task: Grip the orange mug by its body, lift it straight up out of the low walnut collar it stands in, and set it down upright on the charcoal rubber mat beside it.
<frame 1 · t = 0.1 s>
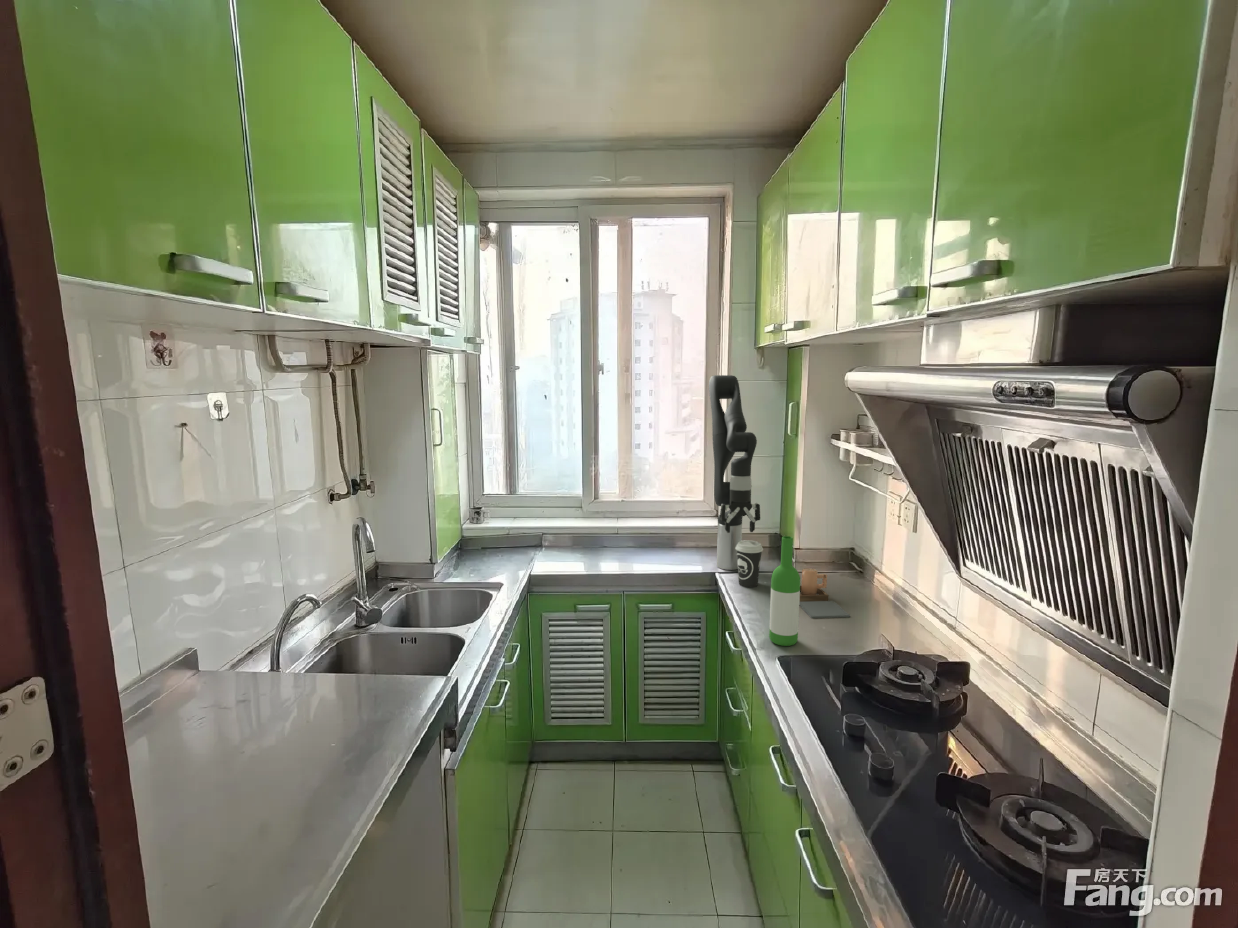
hand: (739, 532, 219), 17 cm above the counter, tool pointing down, fingers open, 8 cm apart
wine bottle: (783, 641, 170), on the counter
coffee cup: (748, 584, 216), on the counter
mat: (822, 610, 192), on the counter
orange mug: (813, 583, 203), in the holder
holder: (808, 596, 204), on the counter
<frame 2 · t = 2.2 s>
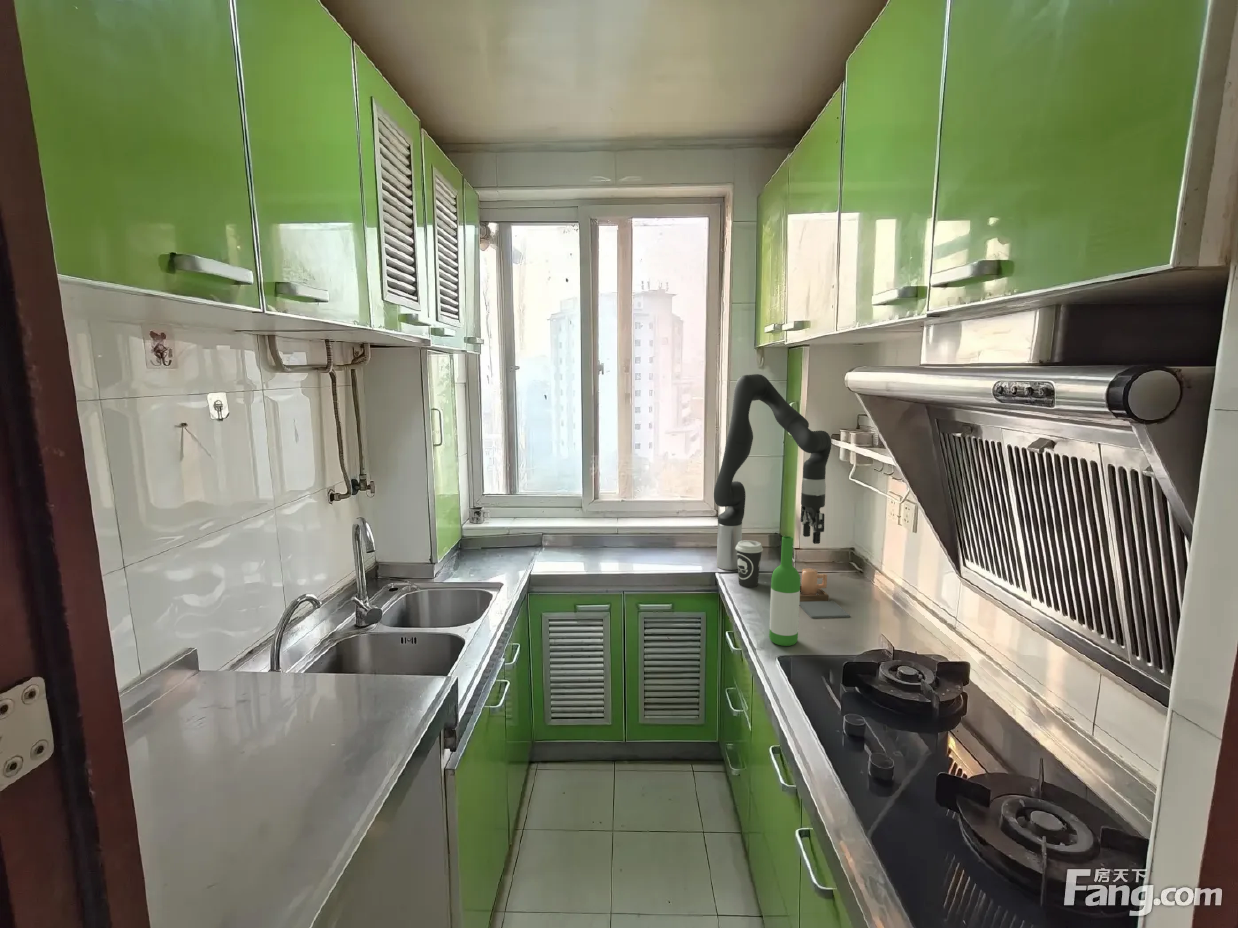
hand: (811, 539, 201), 20 cm above the counter, tool pointing down, fingers open, 8 cm apart
nothing on the counter moved.
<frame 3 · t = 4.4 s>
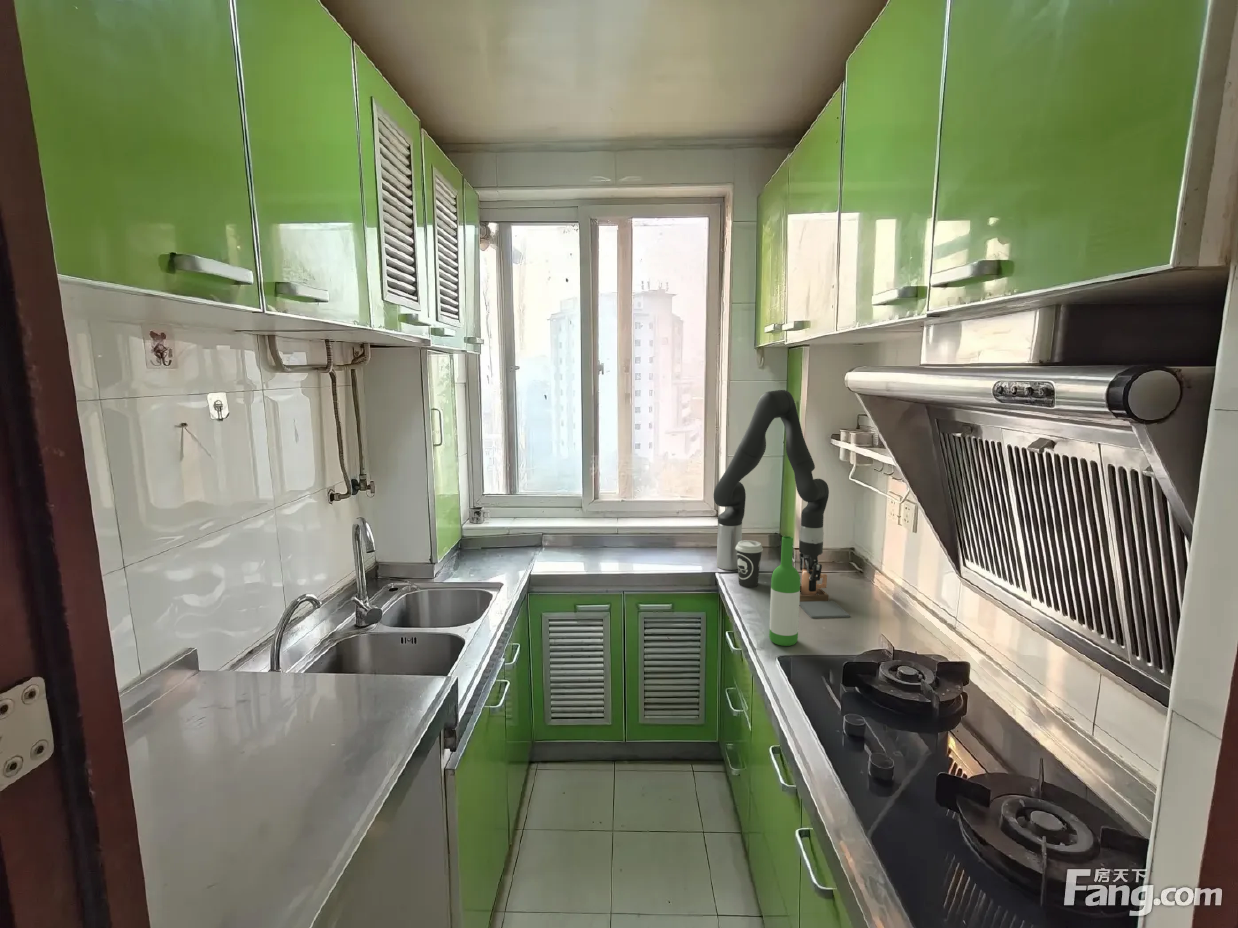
hand: (809, 587, 203), 3 cm above the counter, tool pointing down, fingers closed on orange mug, 5 cm apart
orange mug: (813, 583, 203), in the holder, touching gripper
everything else where it was.
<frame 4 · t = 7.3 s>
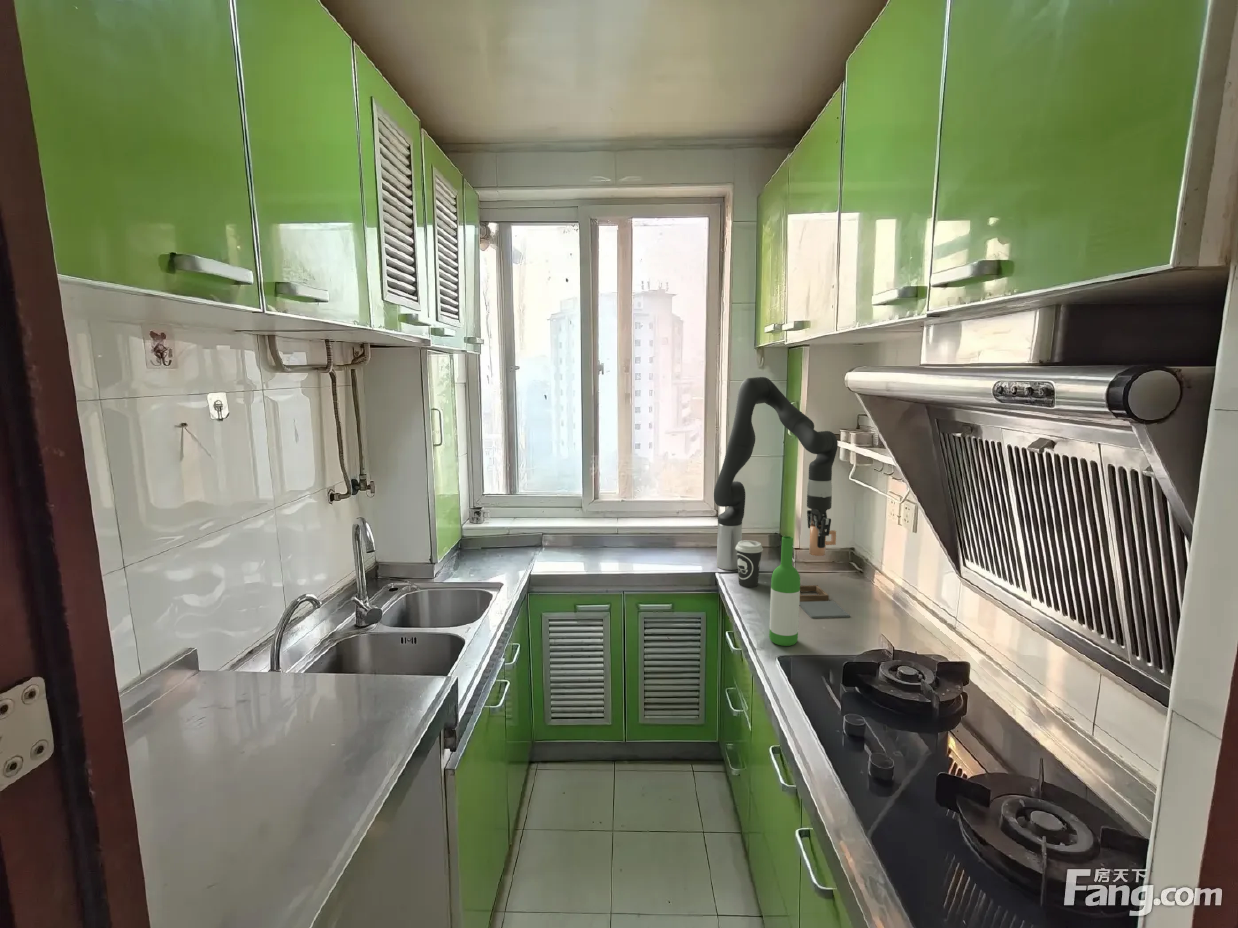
hand: (817, 544, 196), 19 cm above the counter, tool pointing down, fingers closed on orange mug, 5 cm apart
orange mug: (822, 540, 196), point 21 cm above the counter, touching gripper
everything else where it was.
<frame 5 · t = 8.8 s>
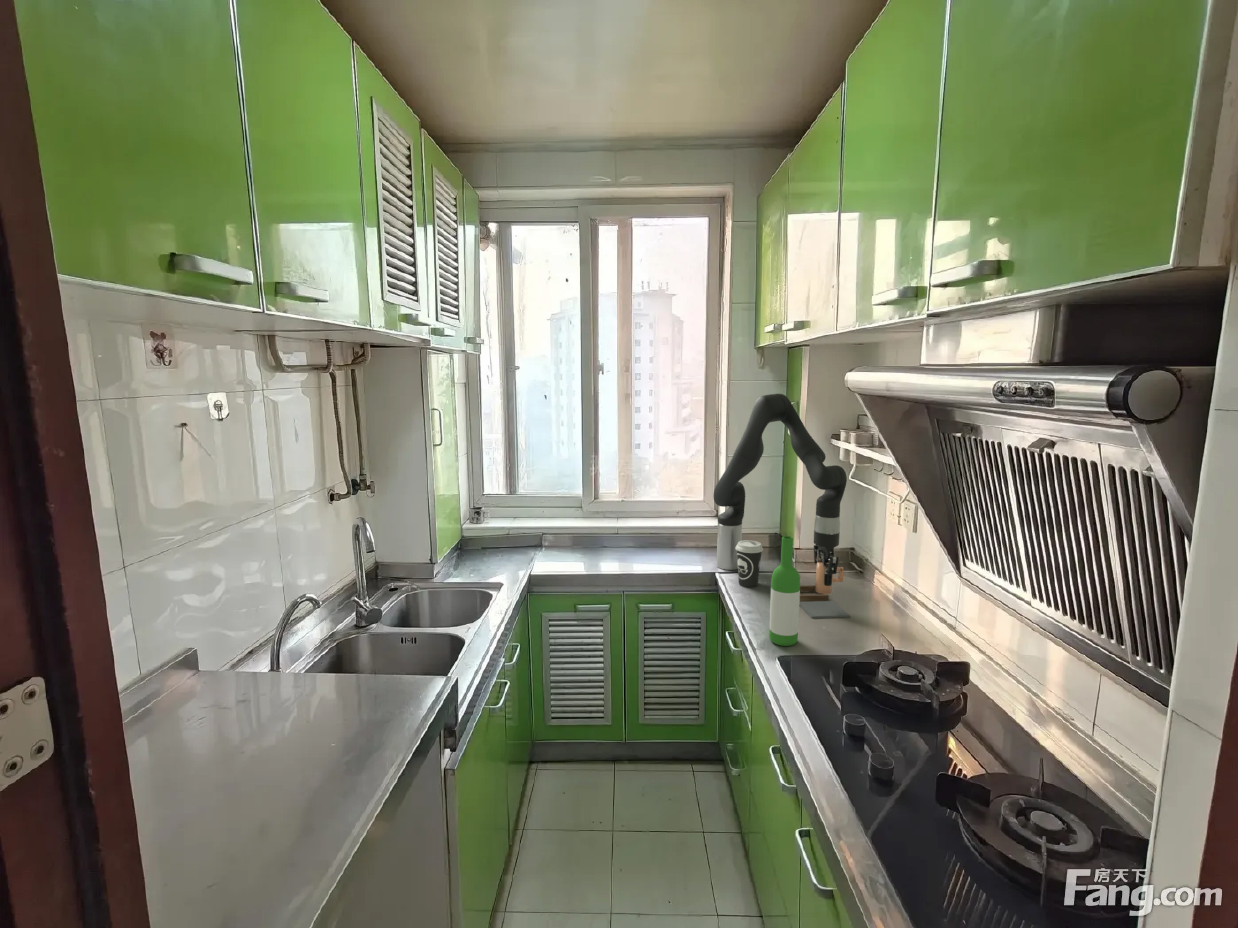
hand: (824, 582, 191), 9 cm above the counter, tool pointing down, fingers closed on orange mug, 5 cm apart
orange mug: (829, 577, 191), point 11 cm above the counter, touching gripper
everything else where it was.
when the fingers open (5 cm above the counter, at t = 10.1 s): orange mug drops 1 cm, resting on mat.
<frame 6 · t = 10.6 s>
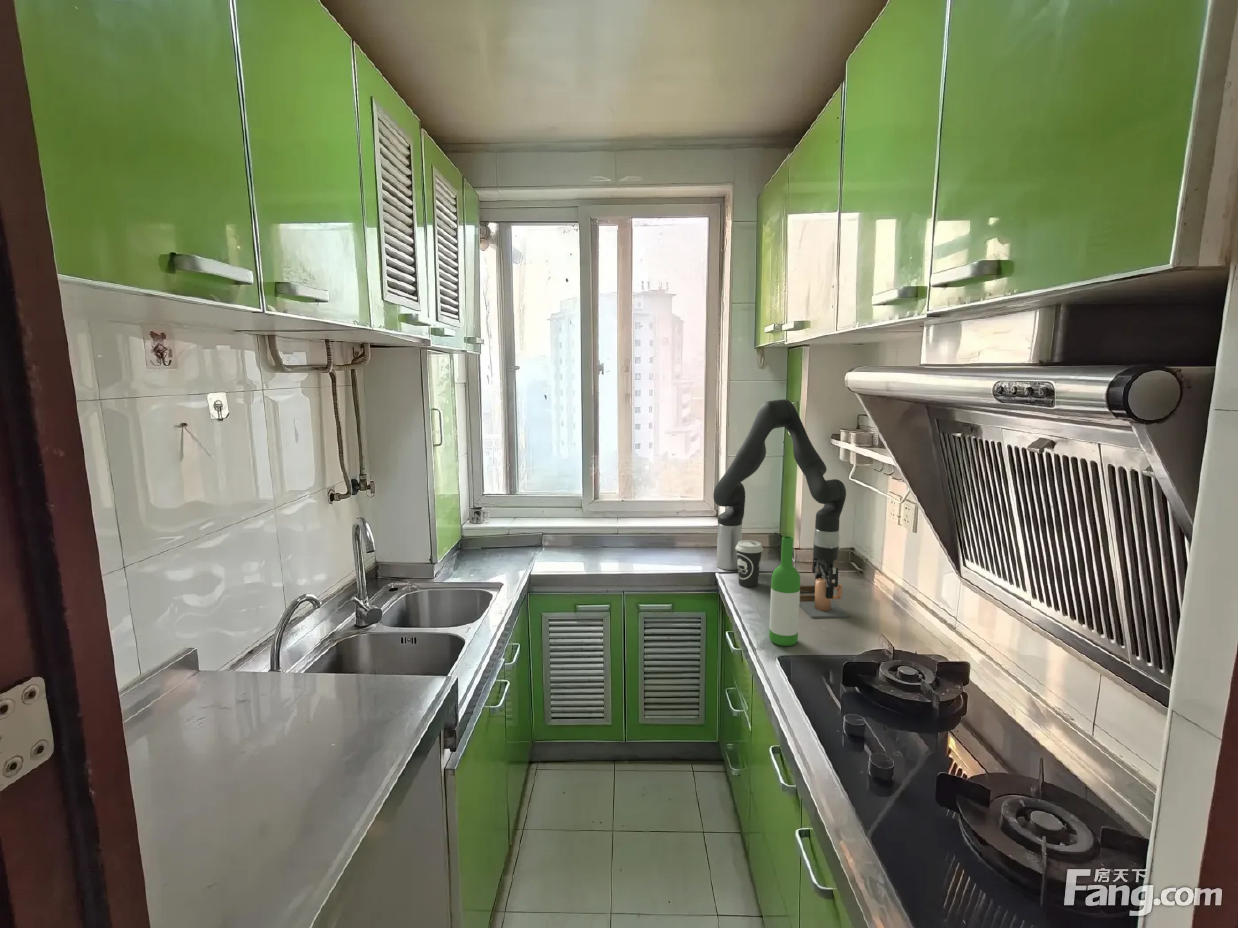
hand: (823, 593, 191), 6 cm above the counter, tool pointing down, fingers open, 8 cm apart
orange mug: (828, 594, 191), on the mat, point 5 cm above the counter
everything else where it was.
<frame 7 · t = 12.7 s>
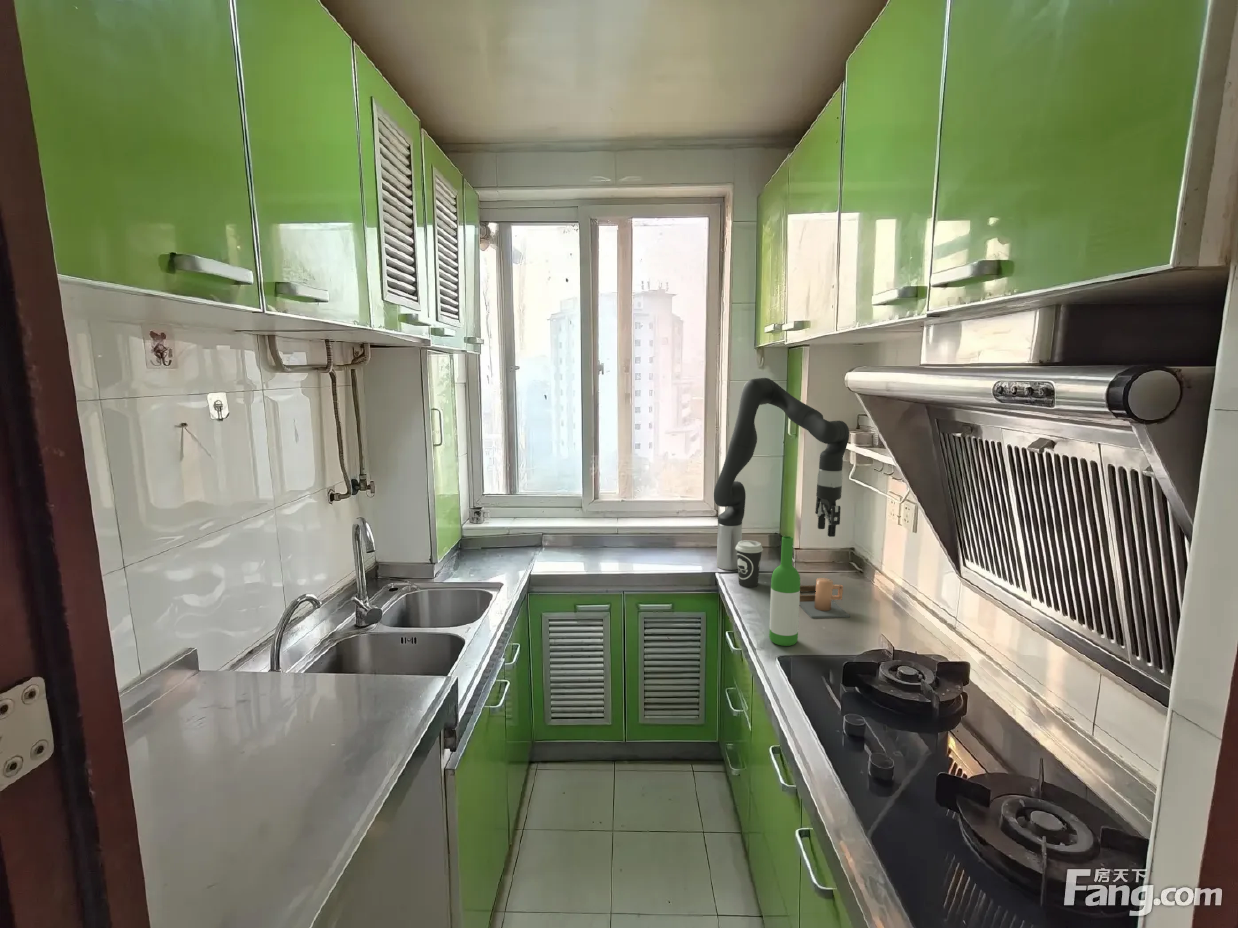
hand: (826, 532, 196), 23 cm above the counter, tool pointing down, fingers open, 8 cm apart
nothing on the counter moved.
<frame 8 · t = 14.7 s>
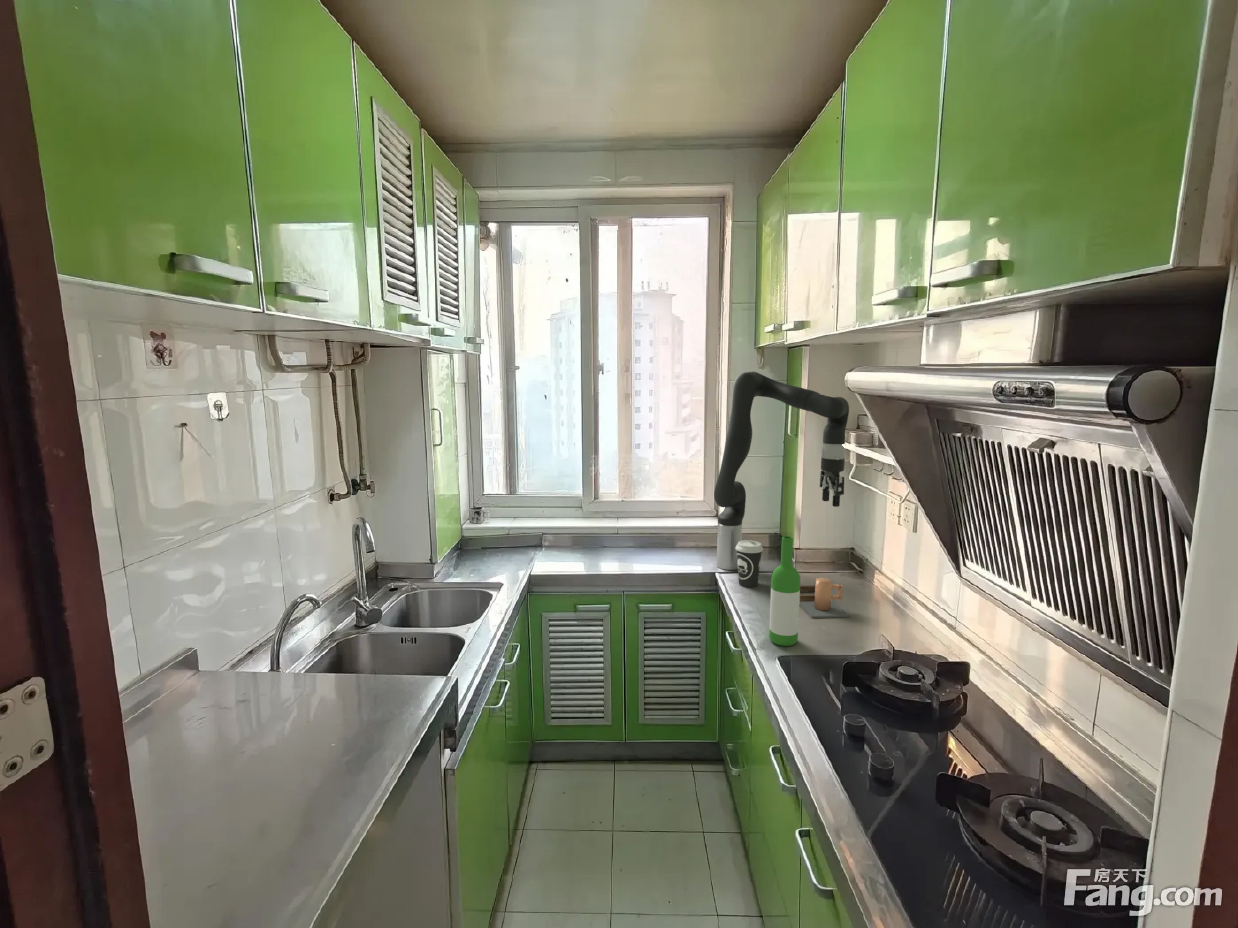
hand: (830, 503, 207), 30 cm above the counter, tool pointing down, fingers open, 8 cm apart
nothing on the counter moved.
at the end: orange mug inside the target area on the mat (0.2 cm from its centre), point 5.1 cm above the mat's base; orange mug tilted 3°; the gripper is holding nothing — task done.
